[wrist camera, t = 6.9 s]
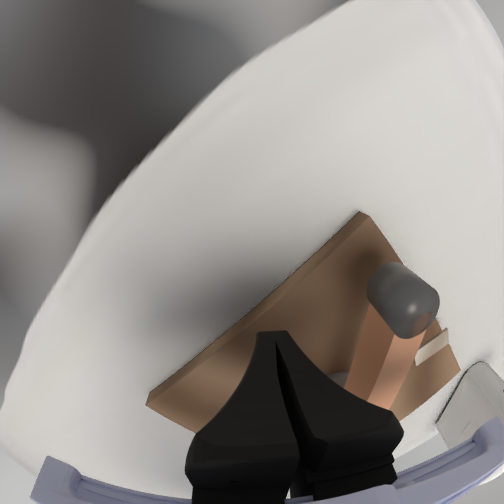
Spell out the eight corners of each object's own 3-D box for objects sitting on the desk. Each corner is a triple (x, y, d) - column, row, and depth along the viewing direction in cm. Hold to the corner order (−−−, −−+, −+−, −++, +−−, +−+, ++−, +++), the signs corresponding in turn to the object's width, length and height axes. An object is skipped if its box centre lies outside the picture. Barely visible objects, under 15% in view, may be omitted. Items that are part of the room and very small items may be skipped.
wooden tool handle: (359, 431, 16) (374, 472, 12) (291, 441, 15) (299, 487, 12) (426, 255, 11) (480, 290, 7) (331, 253, 11) (371, 300, 7)
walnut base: (303, 464, 21) (306, 481, 19) (149, 393, 17) (142, 415, 14) (457, 359, 17) (469, 373, 15) (364, 206, 13) (385, 215, 11)
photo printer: (464, 367, 18) (526, 449, 6) (488, 355, 18) (548, 425, 7) (430, 427, 22) (467, 499, 10) (454, 415, 22) (493, 480, 10)
